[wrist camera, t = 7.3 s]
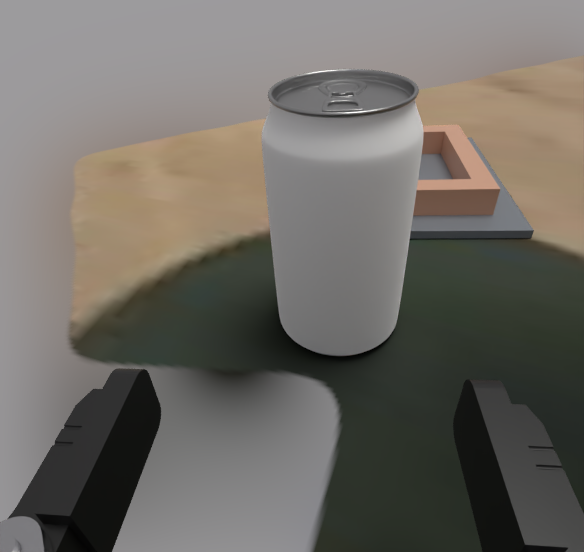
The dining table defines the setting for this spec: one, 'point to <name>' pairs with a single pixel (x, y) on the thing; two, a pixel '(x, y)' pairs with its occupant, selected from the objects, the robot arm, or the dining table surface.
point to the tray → (461, 192)
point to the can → (341, 203)
